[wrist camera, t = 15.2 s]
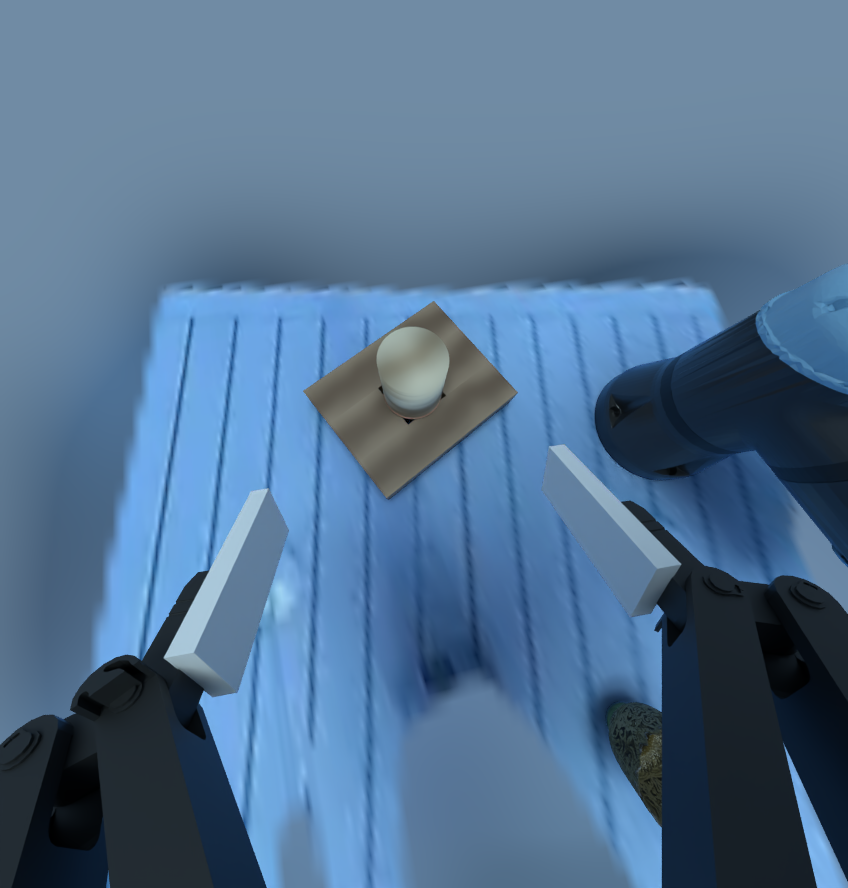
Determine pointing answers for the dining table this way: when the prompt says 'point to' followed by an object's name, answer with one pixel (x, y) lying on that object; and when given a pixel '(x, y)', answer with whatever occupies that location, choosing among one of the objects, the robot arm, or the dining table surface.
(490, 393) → the walnut board
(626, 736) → the cup
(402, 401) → the ash peg
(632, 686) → the dining table surface
